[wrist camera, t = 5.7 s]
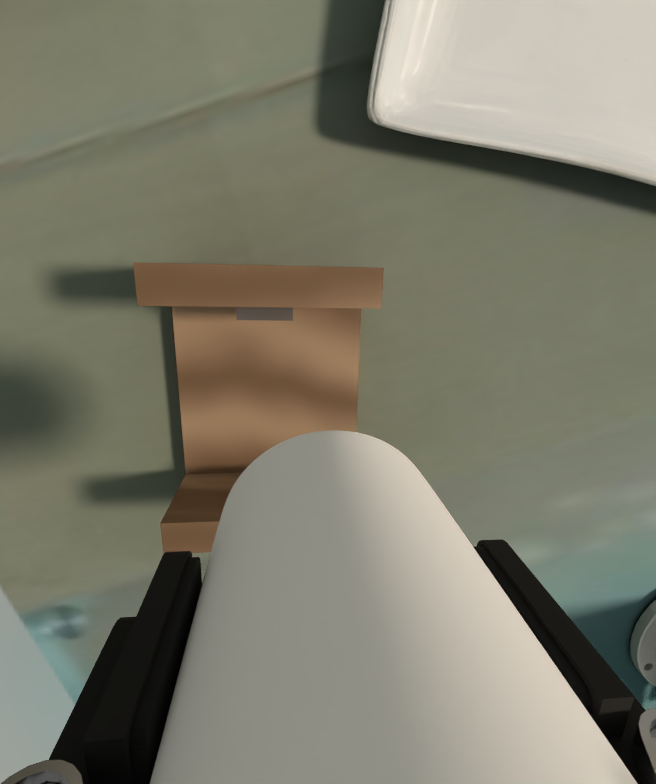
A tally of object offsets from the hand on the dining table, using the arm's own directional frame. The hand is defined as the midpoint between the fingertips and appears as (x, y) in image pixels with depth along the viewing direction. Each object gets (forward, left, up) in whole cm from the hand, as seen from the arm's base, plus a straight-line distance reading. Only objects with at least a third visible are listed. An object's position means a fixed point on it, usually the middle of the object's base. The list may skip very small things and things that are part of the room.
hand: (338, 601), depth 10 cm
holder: (0, +2, -20) cm, 20 cm away
